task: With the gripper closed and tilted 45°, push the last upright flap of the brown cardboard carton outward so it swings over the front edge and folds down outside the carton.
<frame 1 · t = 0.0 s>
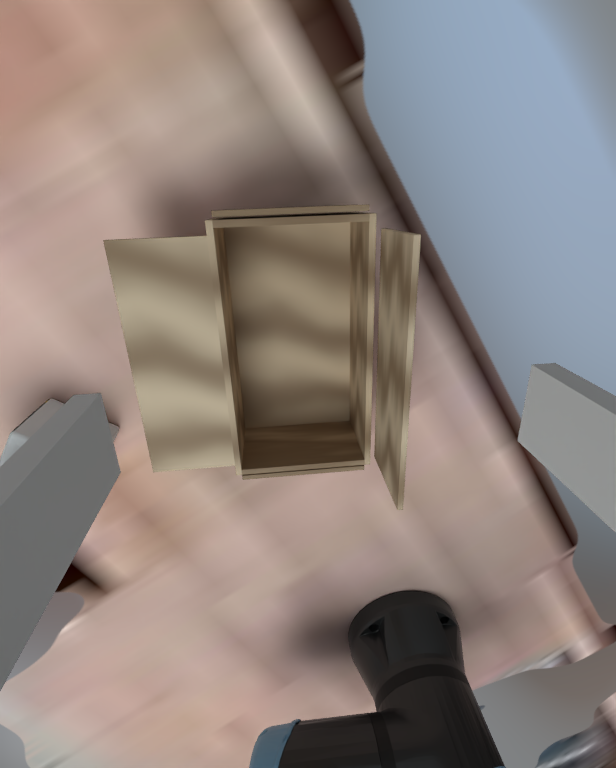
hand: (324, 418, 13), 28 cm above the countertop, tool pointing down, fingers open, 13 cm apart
medicine bottle: (75, 437, 43), on the countertop
flap: (392, 371, 30), point 12 cm above the countertop, hinge at 0.0°
carton: (292, 331, 41), on the countertop
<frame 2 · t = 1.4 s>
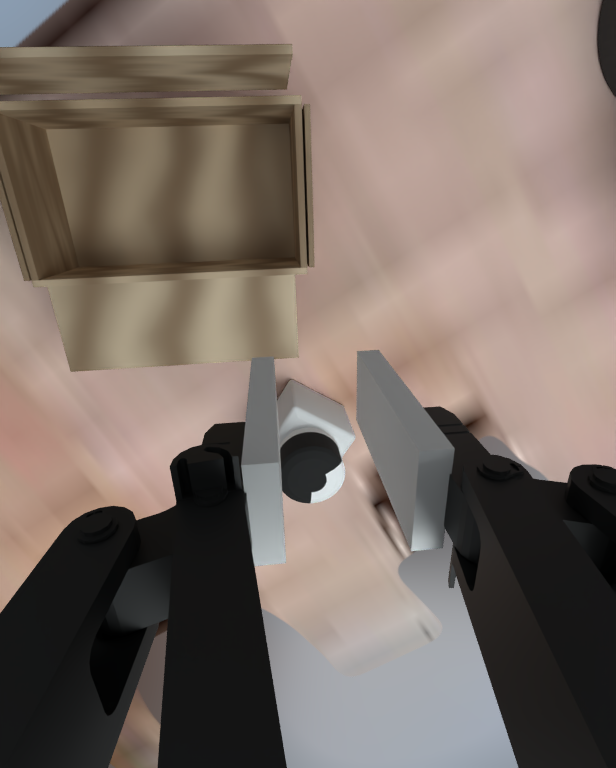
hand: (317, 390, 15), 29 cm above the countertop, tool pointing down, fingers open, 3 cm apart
medicine bottle: (301, 416, 48), on the countertop
flap: (125, 71, 24), point 12 cm above the countertop, hinge at 0.0°
carton: (181, 198, 38), on the countertop
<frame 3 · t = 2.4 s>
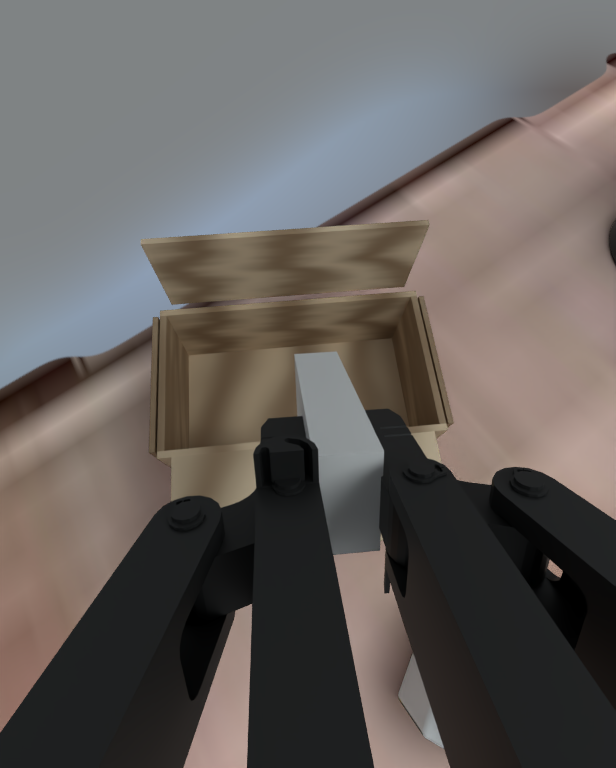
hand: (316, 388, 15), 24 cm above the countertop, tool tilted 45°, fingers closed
medicine bottle: (455, 671, 32), on the countertop
flap: (288, 265, 31), point 12 cm above the countertop, hinge at 0.0°
carton: (297, 401, 40), on the countertop
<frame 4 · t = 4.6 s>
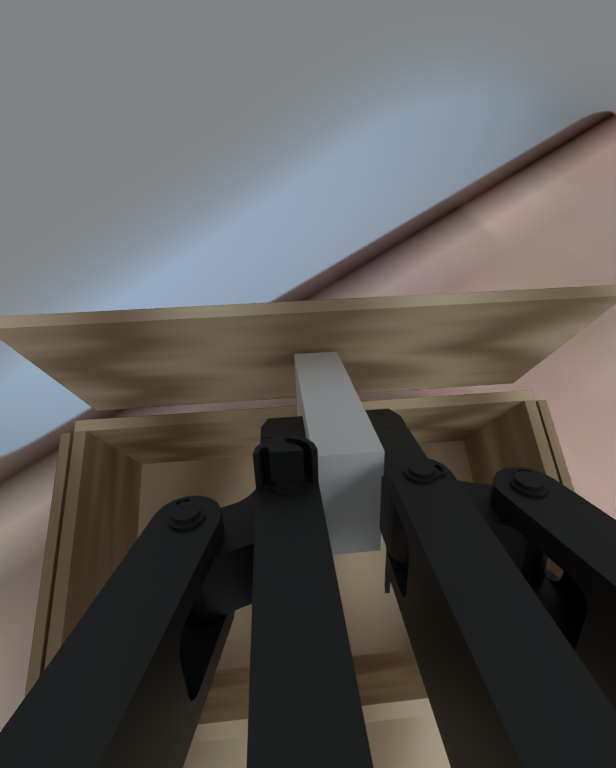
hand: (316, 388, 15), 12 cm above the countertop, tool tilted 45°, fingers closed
flap: (315, 357, 16), point 12 cm above the countertop, hinge at 0.3°, touching gripper
carton: (314, 546, 24), on the countertop
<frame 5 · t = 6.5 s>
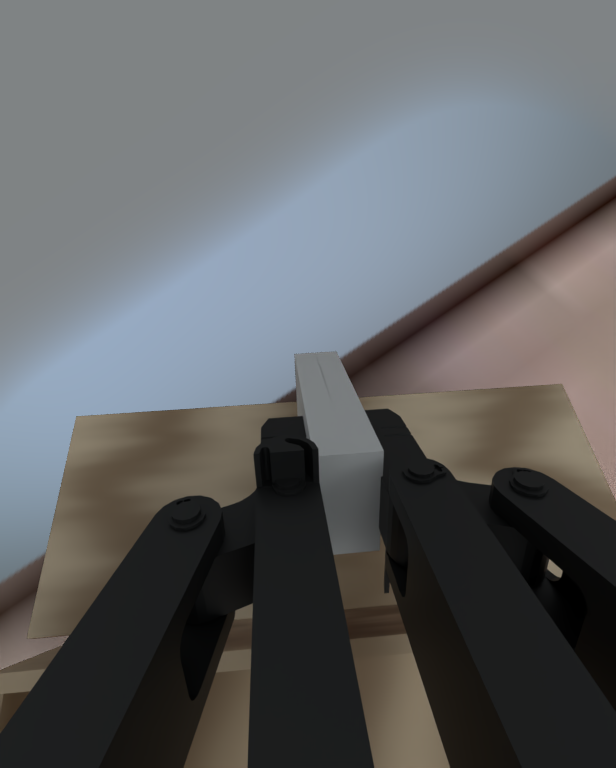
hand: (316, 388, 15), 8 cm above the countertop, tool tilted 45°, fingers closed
flap: (337, 492, 15), point 7 cm above the countertop, hinge at 99.1°, touching gripper
carton: (347, 766, 18), on the countertop
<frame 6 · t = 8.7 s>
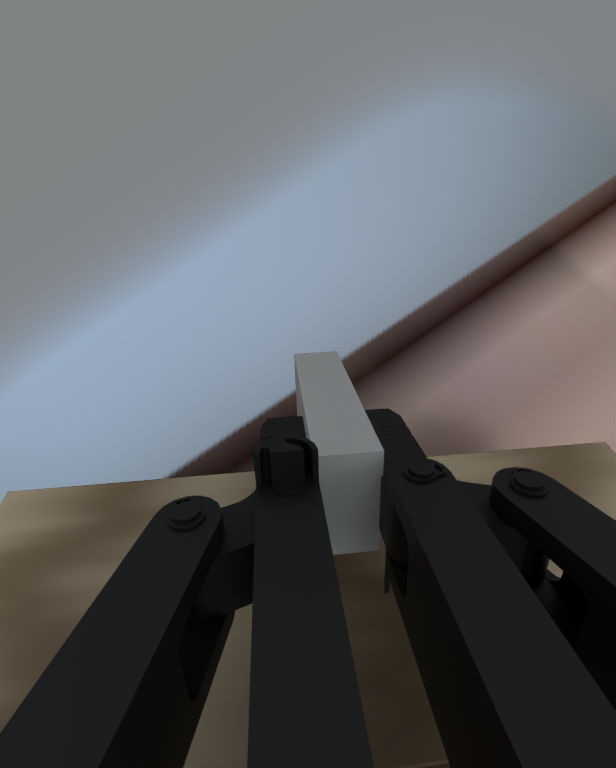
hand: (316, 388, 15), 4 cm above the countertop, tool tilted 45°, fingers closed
flap: (340, 582, 11), point 6 cm above the countertop, hinge at 118.0°
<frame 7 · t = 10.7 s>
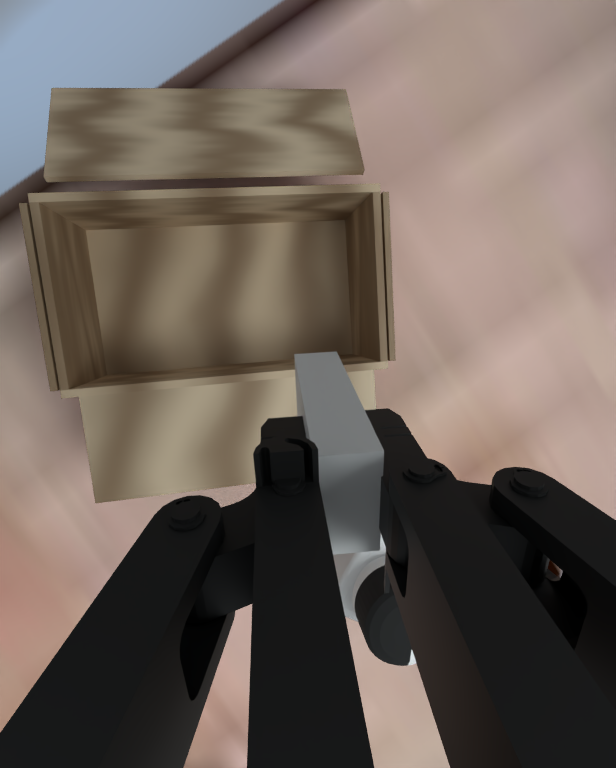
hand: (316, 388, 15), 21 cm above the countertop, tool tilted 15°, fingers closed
medicine bottle: (360, 539, 39), on the countertop
flap: (209, 132, 27), point 6 cm above the countertop, hinge at 118.1°
carton: (228, 296, 34), on the countertop
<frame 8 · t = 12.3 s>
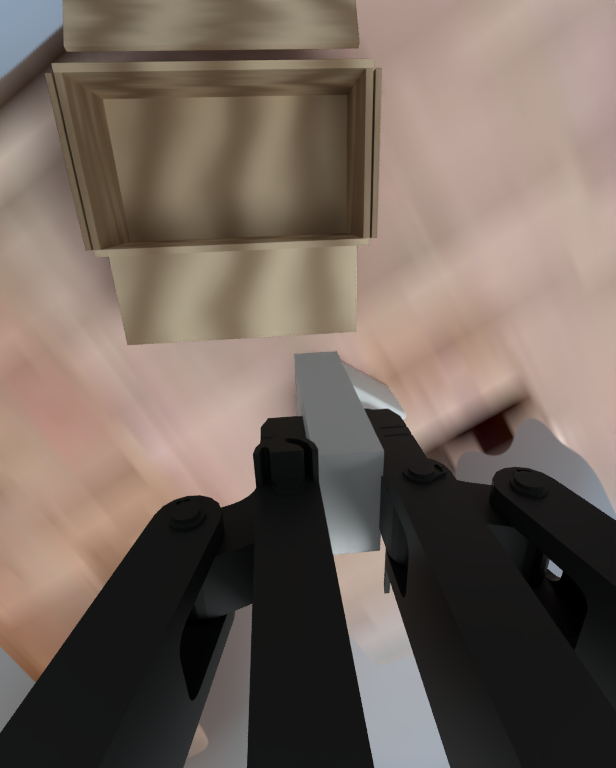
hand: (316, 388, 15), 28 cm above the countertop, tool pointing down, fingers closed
medicine bottle: (345, 397, 47), on the countertop
carton: (234, 171, 37), on the countertop
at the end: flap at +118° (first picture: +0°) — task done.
